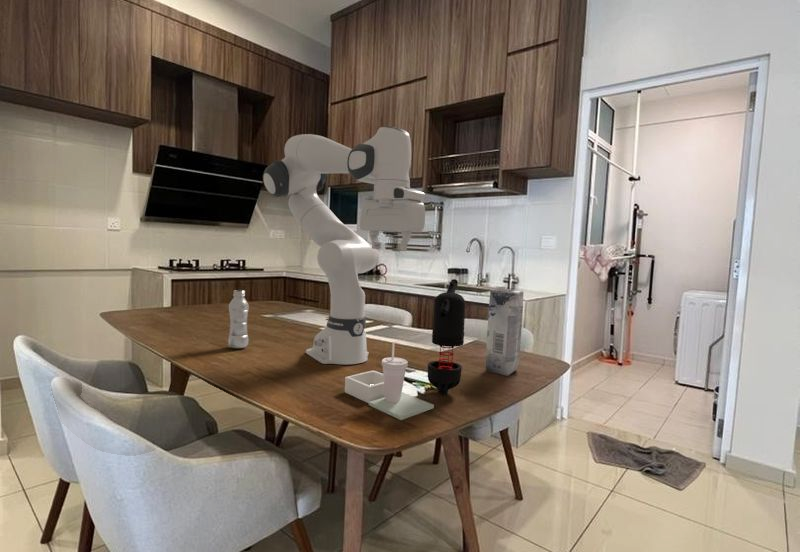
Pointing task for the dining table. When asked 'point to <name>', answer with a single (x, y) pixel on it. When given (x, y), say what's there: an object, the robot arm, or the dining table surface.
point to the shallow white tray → (365, 386)
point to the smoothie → (393, 376)
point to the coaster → (402, 406)
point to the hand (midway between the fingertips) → (388, 250)
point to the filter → (447, 338)
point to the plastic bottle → (238, 320)
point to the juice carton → (504, 330)
